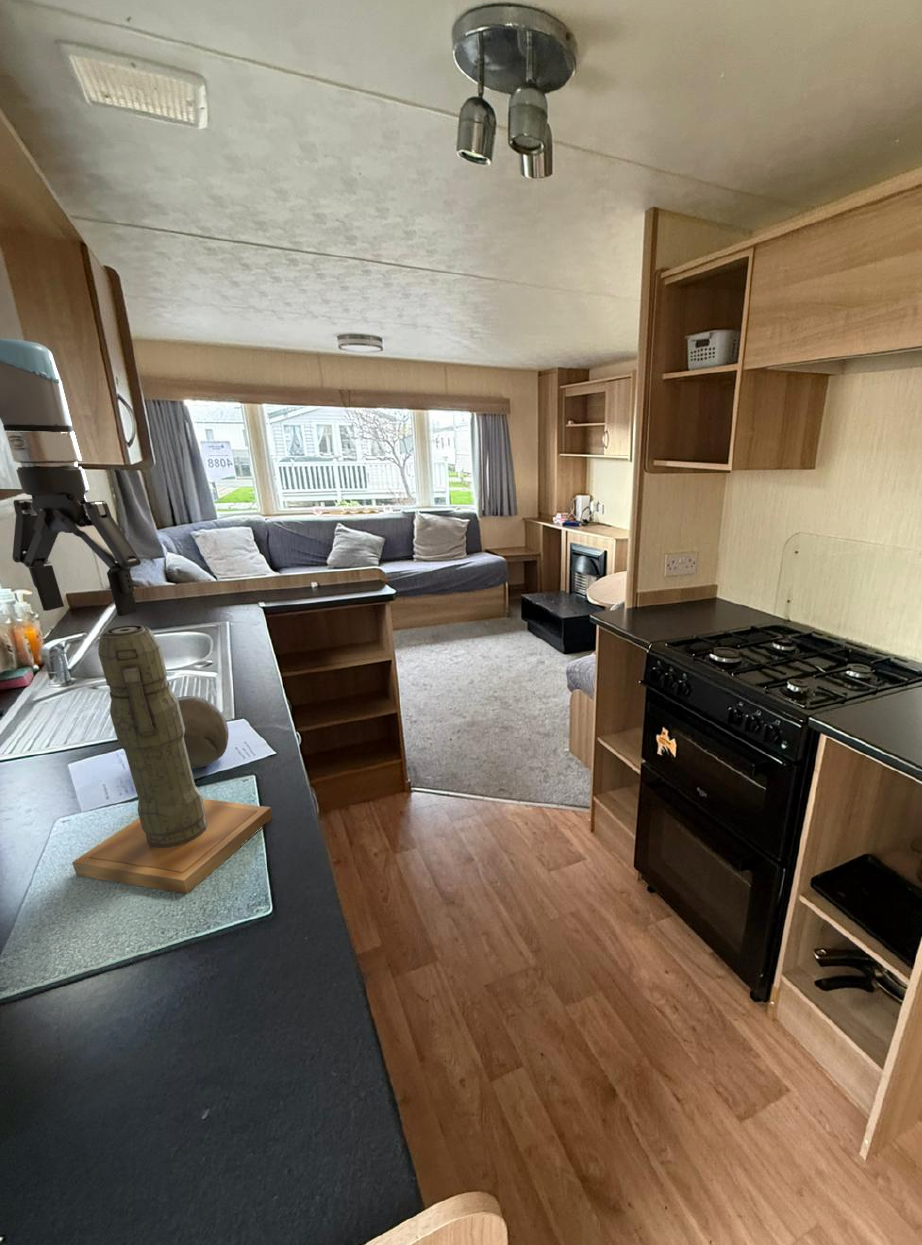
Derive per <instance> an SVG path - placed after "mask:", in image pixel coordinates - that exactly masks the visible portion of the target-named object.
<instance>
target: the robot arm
mask: <svg viewBox="0 0 922 1245" xmlns="http://www.w3.org/2000/svg"><path fill="white" fill-rule="evenodd" d="M69 411H70V410H69V408H68V402H67V399H66V394H65V391H64V388H63V382H62V380H61V376H60V374H59V371H58V369H57V365H56V362H55V359H54V355H53V353H52V351H51V350H49V348H47V347H46V346H45V345H43V344H41V343H37V342H34V341H29V340H22V339H13V338H11V339H10V338H0V421H1V423H2V427H3V430H4V432H5V436H6V439H7V442H8V446H9V449H10V452H11V456H12V460H13V461H14V462H15V463H20V466H18V467H17V469H15V471H16V473H17V477H18V481H19V485H20V487H21V491H22V492H23V494H25V495H28V496H31V498H23V499H14V500H13V501H12V502H13V507H14V513H15V524H14V536H13V547H12V560H13V562H15V563H17V564H18V563H21V564H23V565H24V566H25V567H26V568H28V571H29V573H30V577H31V580H32V583H33V586H34V588H36V591H37V594H38V597H39V601H40V604H41V607H42V610H43V612H44V611H45V612H48V611H52V610H53V611H54V610H57V609H60V608H64V607H65V603H64V601H63V598H62V594H61V591H60V588H59V583H58V580H57V577H56V573H55V571H54V570H55V569H54V567H53V565H52V564H51V561H50V560H49V557H50V556H51V553H52V550H53V548H54V545H55V543H56V541H57V538H58V536H59V534H60V533H65V534H73V535H74V536H76V537H79V538H80V539H81V540H82V541H83V542H84V543H85V544H86V545H87V547H89V548H90V549H91V551H93V552H94V554H95V555H96V556H97V557H98V558H99V559H100V560H101V561H102V562H103V563H104V564H105V565H106V567H108V568H109V569H108V570H107V572H106V576H107V579H108V583H109V587H110V592H111V595H112V598H113V602H114V606H115V610H116V613H117V616H118V617H124V616H128V615H131V614H134V613H138V608H137V605H136V600H135V596H134V593H133V592H135V586H134V585H135V584H134V582H133V578H132V573H131V569H132V568H135V567H138V566H140V565H141V564H142V561H141V559H140V557H139V556H138V554H137V553H136V552H135V550H134V549H133V547H132V546H131V544H130V542H129V541H128V539H127V538H126V536H125V535H124V533H123V531H122V530H121V529H120V526H118V524H117V522H116V520H115V519H114V518H113V516H112V513H111V510H110V507H109V505H108V502H107V501H105V500H95V501H93V500H92V501H88V500H87V498H86V494H87V493H89V491H90V487H89V484H88V480H87V476H86V472H85V468H82V466H79V465H78V463H80V462H82V460H83V459H82V456H81V453H80V449H79V446H78V441H77V438H76V435H75V432H74V428H73V424H72V420H71V415H70V412H69Z"/></svg>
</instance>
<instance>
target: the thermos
mask: <svg viewBox="0 0 922 1245" xmlns="http://www.w3.org/2000/svg"><path fill="white" fill-rule="evenodd" d="M98 658H99V662H100V665H101V668H102V671H103V672H102V673H103V675H104V678H105V683H106V686H108V687H109V690H110V692H109V697H110V707H109V715H110V718H111V722H112V725H113V726H112V727H113V729H114V733H115V736H116V740H117V742H118V746H119V747H120V748H122V750H123V751H124V753H125V758H126V760H127V765H128V768H129V771H130V774H131V779H132V782H133V785H134V788H135V792H136V796H137V799H138V800H137V801H138V802H137V814H138V818H140V822H141V825H142V829H143V830H144V832H145V833H146V838H147V842H148V844H150V845H151V846H153V847H158V848H168V847H173V846H178V845H181V844H184V843H187V842H189V841H191V840H193V839H195V838H197V837H198V836H200V835H201V834H202V833H203V832H204V831H205V830H206V828H207V825H208V824H207V821H206V818H205V807H204V803H203V799H204V798H203V795H202V793H201V791H200V790H199V788H198V787H197V786H196V783H195V779H194V774H193V771H192V768H191V766H190V762H189V758H188V754H187V749H186V745H185V741H184V733H185V726H184V722H183V718H182V714H181V710H180V706H179V701H178V699H177V698H178V696H176V694H175V693H174V691H173V690H172V688H171V684H170V682H169V681H168V678H167V676H168V672H167V668H166V664H165V659H164V656H163V651H162V647H161V644H160V642H159V641H158V639H157V637H156V636H155V635H154V633H153V632H152V630H151V629H150V627H147V626H143V625H141V624H128V625H127V624H126V625H120V626H113V627H111V628H108V629H106V630H105V631H104V632H102V633H100V635H99V640H98ZM202 798H203V799H202Z"/></svg>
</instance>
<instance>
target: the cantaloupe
mask: <svg viewBox="0 0 922 1245" xmlns="http://www.w3.org/2000/svg"><path fill="white" fill-rule="evenodd" d="M177 699H178V701H179V706H180V710H181V714H182V718H183V722H184V726H185V733H184V741H185V745H186V749H187V754H188V758H189V762H190V766H191V769H201V768H202V769H203V768H205V767H207V766H209V765H212V764H213V763H215V762H216V761H218V760H220V758H222V757H223V755H224V754H225V753H226V751H227V749H228V744H229V737H230V736H229V733H230V732H229V726H228V723H227V720H226V718H225V716H224V714H223V713H222V712H221V710H220V709H219V708H218V707H217V706H216V705H214V704H213V703H211V702H210V701H209V700H208V699H205V698H203V697H200V696H196V695H184V696H179V697H178V696H177Z"/></svg>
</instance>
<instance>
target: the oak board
mask: <svg viewBox="0 0 922 1245" xmlns="http://www.w3.org/2000/svg"><path fill="white" fill-rule="evenodd" d="M202 799H203V803H204V807H205V818H206V821H207V824H208V825H207V828H206V830H205V831H204V832H203V833H202V834H201V835H200V836H198V837H197V838H195V839H193V840H191V841H189V842H187V843H184V844H181V845H178V846H173V847H168V848H158V847H153V846H151V845H150V844H148V842H147V838H146V833H145V832H144V830H143V829H142V825H141V822H140V818H139V817H138V818H137V819H135V820H134V821H132V822H130V823H128V824H127V825H126V826H125V827H123V828H121V829H120V830H119V831H117V832H115V833H114V834H112V835H111V836H109V837H108V838H106V839H105V840H104V841H101V842H100V843H99V844H97V845H95V847H93V848H91V849H90V850H88V851H86V852H85V853H83V854H82V855H81V856H79V857H78V858H76V859H75V860H73V861H72V866H73V869H74V872H75V876H78V877H85V878H89V879H95V880H96V879H97V880H101V881H109V882H112V883H113V882H115V883H120V884H126V885H131V886H138V887H144V888H151V889H156V890H162V891H168V892H175V893H180V894H189V893H190V892H191V891H192V890H193V889H195V888H196V887H197V886H198V885H199V884H200V883H201V882H203V881H204V880H205V879H206V878H207V877H208V876H209V875H211V874H212V873H213V872H214V871H215V870H217V869H218V868H219V867H220V866H221V865H222V864H224V862H225V861H227V860H228V859H229V858H230V857H231V856H232V855H233V854H234V853H236V852H237V851H238V850H239V849H240V848H241V847H242V846H243V845H245V844H246V843H247V842H248V841H249V840H250V839H252V838H253V837H254V836H256V834H257V833H255V832H256V831H257V830H259V829H260V828H261V827H262V826H263V825H264V824H265V823H266V822H268V821H269V820H270V821H269V822H268V823H267V824H266V825H268V824H269V823H270V822H271V821H273V815H272V814H273V813H272V809H271V807H269V806H262V805H255V804H249V803H247V804H246V803H239V802H232V801H225V800H218V799H217V800H216V799H209V798H203V797H202ZM271 818H272V819H271ZM264 827H265V826H263V827H262V828H261V829H260V830H259V831H258V832H260V831H261V830H262V829H263V828H264ZM253 834H254V835H253ZM252 835H253V836H252ZM250 837H251V838H250ZM249 838H250V839H249ZM248 839H249V840H248ZM246 840H247V841H246ZM245 841H246V842H245ZM244 842H245V843H244ZM243 843H244V844H243ZM242 844H243V845H242ZM241 845H242V846H241ZM240 846H241V847H240Z"/></svg>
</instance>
